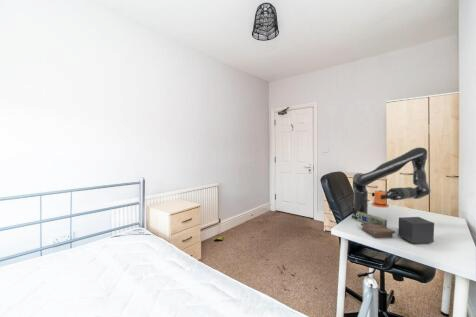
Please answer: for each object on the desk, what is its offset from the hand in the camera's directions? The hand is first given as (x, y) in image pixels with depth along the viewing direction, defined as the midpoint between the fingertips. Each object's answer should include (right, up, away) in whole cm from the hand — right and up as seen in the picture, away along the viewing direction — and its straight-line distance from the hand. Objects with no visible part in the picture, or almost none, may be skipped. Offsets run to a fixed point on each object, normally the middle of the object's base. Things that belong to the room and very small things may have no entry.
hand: (376, 195), depth 132 cm
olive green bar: (+5, -23, +18) cm, 30 cm away
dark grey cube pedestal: (+17, -24, -9) cm, 31 cm away
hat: (+3, -6, +1) cm, 7 cm away
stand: (+1, -24, +2) cm, 24 cm away
